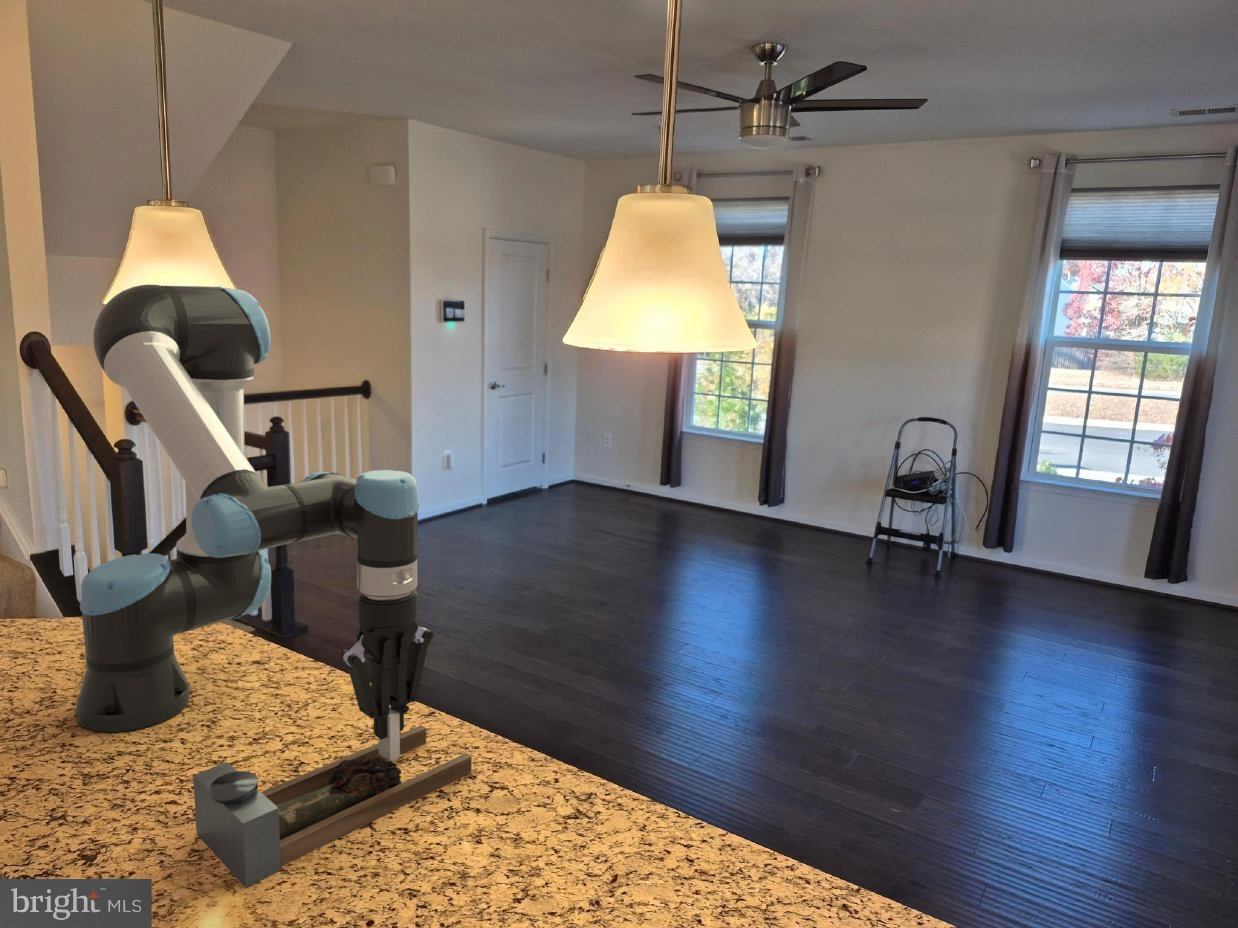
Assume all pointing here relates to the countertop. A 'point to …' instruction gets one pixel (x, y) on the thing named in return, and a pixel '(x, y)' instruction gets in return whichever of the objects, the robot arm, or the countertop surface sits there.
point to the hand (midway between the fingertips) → (389, 755)
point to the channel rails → (367, 809)
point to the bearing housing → (237, 822)
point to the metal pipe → (338, 793)
